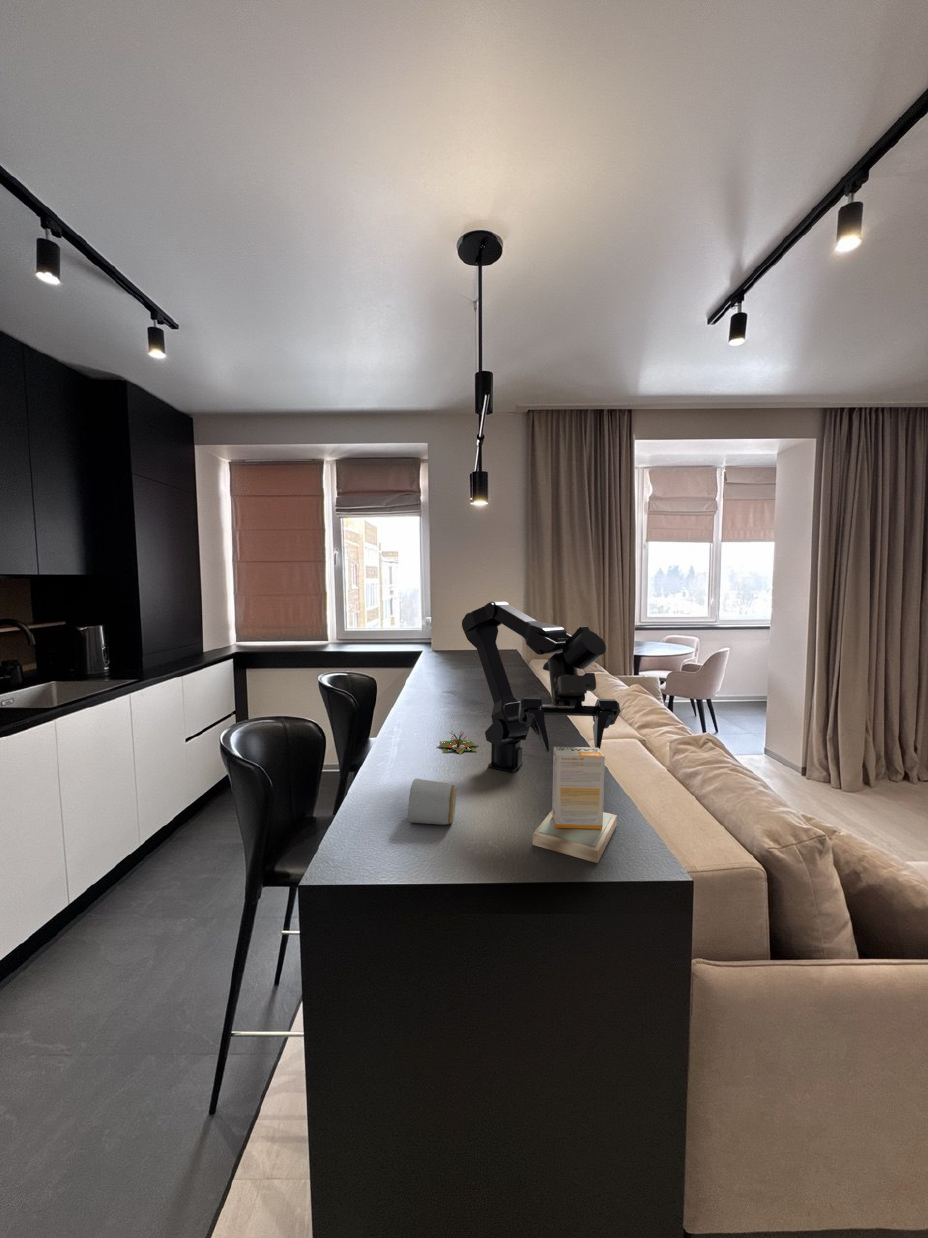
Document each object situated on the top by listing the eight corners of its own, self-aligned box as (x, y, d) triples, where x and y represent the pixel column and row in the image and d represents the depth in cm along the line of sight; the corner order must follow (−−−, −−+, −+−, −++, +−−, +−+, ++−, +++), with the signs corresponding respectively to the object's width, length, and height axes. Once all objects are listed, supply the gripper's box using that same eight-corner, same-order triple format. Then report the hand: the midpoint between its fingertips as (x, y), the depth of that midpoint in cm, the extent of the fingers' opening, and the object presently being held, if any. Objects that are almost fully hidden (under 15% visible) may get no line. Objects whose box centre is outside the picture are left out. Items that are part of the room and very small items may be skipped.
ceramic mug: (452, 832, 90) (453, 790, 90) (407, 830, 91) (407, 788, 90) (457, 806, 101) (458, 768, 100) (416, 804, 102) (417, 766, 101)
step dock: (532, 844, 87) (533, 832, 87) (558, 811, 99) (558, 800, 99) (597, 863, 82) (598, 850, 81) (616, 825, 94) (617, 814, 94)
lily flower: (484, 756, 130) (484, 738, 129) (437, 757, 128) (437, 740, 128) (476, 740, 142) (476, 724, 141) (433, 742, 140) (433, 725, 140)
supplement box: (596, 817, 92) (599, 746, 91) (602, 830, 88) (606, 756, 86) (550, 815, 93) (553, 745, 91) (554, 828, 88) (556, 754, 87)
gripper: (521, 655, 97) (526, 730, 87) (620, 658, 97) (635, 733, 87) (516, 687, 106) (520, 758, 96) (607, 689, 106) (620, 760, 96)
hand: (572, 752), depth 94 cm, fingers open, 9 cm apart
